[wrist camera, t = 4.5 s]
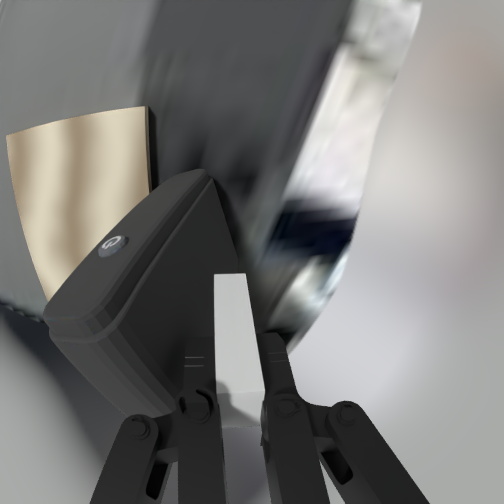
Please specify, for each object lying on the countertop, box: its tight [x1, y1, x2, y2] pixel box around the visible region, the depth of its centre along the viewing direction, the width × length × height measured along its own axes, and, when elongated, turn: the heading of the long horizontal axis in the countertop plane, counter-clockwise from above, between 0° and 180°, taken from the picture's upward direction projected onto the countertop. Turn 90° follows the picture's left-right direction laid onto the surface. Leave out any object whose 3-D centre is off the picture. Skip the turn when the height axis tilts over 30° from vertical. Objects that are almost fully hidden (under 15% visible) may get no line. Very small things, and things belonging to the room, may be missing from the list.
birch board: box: [6, 106, 152, 302], centre depth 21 cm, size 13×18×1 cm
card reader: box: [43, 169, 239, 418], centre depth 16 cm, size 9×4×15 cm, turn 14°
